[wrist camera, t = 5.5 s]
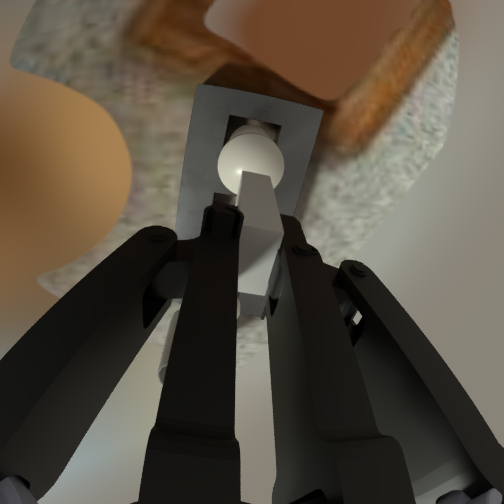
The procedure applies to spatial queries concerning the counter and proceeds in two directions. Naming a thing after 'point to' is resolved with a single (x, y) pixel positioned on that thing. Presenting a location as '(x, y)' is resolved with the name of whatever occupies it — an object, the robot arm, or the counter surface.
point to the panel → (212, 142)
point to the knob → (249, 157)
